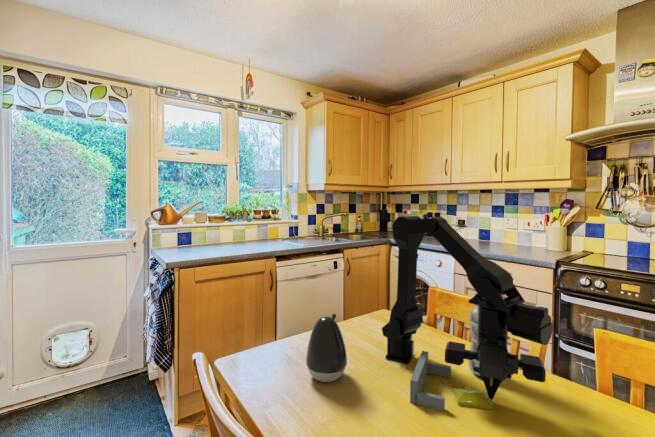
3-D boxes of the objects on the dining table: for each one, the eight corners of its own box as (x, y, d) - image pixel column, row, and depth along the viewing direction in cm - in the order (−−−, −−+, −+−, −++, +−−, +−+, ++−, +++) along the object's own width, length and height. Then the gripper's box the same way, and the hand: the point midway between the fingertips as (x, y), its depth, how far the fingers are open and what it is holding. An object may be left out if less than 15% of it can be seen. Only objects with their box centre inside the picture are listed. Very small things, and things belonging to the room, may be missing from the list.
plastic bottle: (501, 382, 77) (503, 300, 76) (471, 379, 79) (472, 299, 78) (493, 368, 84) (494, 293, 82) (465, 366, 85) (466, 291, 84)
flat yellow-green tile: (451, 412, 68) (451, 399, 68) (445, 388, 77) (445, 376, 77) (503, 419, 65) (503, 406, 65) (491, 393, 74) (491, 381, 74)
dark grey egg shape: (353, 370, 83) (353, 313, 82) (337, 392, 74) (337, 327, 73) (317, 362, 87) (317, 307, 86) (298, 382, 78) (298, 320, 77)
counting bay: (410, 402, 70) (410, 380, 70) (422, 369, 83) (422, 350, 83) (444, 411, 67) (444, 388, 66) (450, 375, 80) (451, 356, 80)
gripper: (442, 334, 66) (441, 407, 66) (552, 352, 57) (549, 436, 58) (447, 316, 76) (446, 380, 76) (541, 330, 67) (539, 401, 68)
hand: (490, 398), depth 70 cm, fingers closed
